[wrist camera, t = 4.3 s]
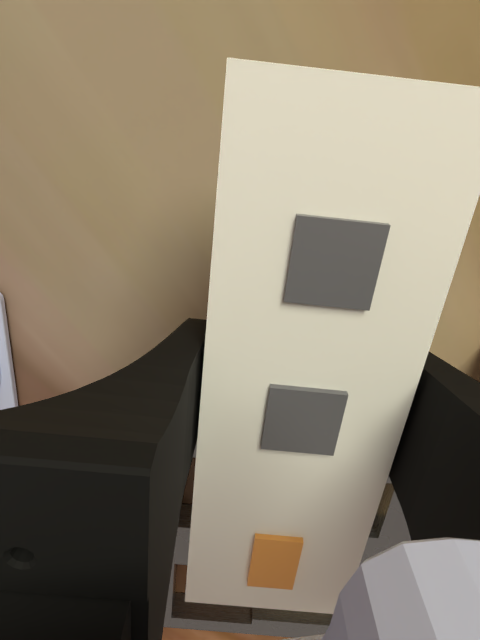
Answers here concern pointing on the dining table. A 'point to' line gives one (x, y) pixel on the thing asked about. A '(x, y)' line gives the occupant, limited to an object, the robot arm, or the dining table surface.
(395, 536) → the keyhole plate
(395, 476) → the robot arm
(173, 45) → the dining table surface
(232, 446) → the power strip
